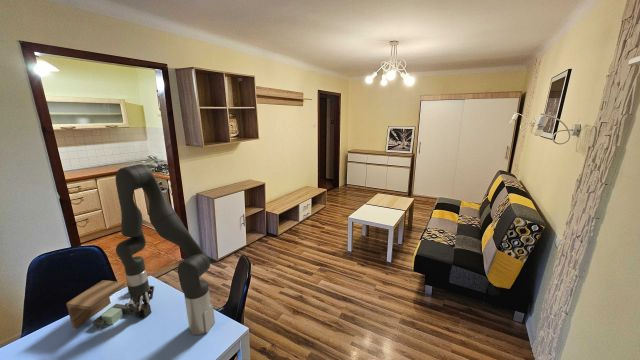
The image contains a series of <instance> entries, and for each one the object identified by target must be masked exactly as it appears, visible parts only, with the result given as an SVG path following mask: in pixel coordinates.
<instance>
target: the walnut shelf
mask: <svg viewBox="0 0 640 360" xmlns="http://www.w3.org/2000/svg"><path fill="white" fill-rule="evenodd" d="M124 287H126V283H125V282H122V281H115V280H114V281H113V280H104V279H103V280H100V282H97V283H96V284H95V285H93V286H91V287H89V288H88V289H86V290H85V291H83V292H81V293H80V294H78V295H77V296H75V297H74V298H72V299H71V300H69V301H68V302H66V303H65V304H66V308H67V312H68V315H69V319H70V322H71V323H70V324H71V326H72V329H73V330H74V329H75V330H76V329H77V328H80V327H81V326H82V325H83V324H85V323H86V322H87V321H88V320H90V319H92V318H93V317H94V316H96V315H97V314H98V313H99V312H101V311H102V310H103V309H105V308H107V306H109V305H111V304H112V303H111V298H110V297H111V296H113V295H114V294H116V293H117V292H118V291H120V290H121V289H122V288H124Z"/></svg>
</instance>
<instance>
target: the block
mask: <svg viewBox="0 0 640 360" xmlns="http://www.w3.org/2000/svg"><path fill="white" fill-rule="evenodd" d="M110 308H111V307H110ZM110 308H108V309H109V310H108V309H107V310H108V311H107V310H106V311H107V312H106V311H105V313H104V312H103V313H104V314H103V313H102V314H103V315H102V314H101V315H100V316H101V317H102V320H104V322H105V325H106V324H107V325H114V324H116V323H117V322H118V321H119V320H120V319H122V318H123V317H124V314H122V309H119V308H111V309H110Z"/></svg>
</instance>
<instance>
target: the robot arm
mask: <svg viewBox="0 0 640 360" xmlns="http://www.w3.org/2000/svg"><path fill="white" fill-rule="evenodd" d="M115 185H116V186H115V187H116V191H117V192H116V193H117V197H118V201H119V206H120V213H121V219H120V220H121V222H120V223H121V227H120V230H121V231H120V232H121V235H122V236H123V237H125V238H126V239H124V240H122V241H120V242H119V243H117V245H116V246H115V247H116V248H115V254H116V255H117V257H118V258H119V260H120V262H121V263H122V264H123V267H124V272H125V280H126V285H127V286H126V287H127V290H128V294H129V295H130V298H129V299H130V300H129V301H128V302H126V303H125V304H124V305H125V306H126V308H127V309H128V310H129V311H130V312H134V313H136V315H135V317H136V318H141V317H142V311H141V305H142V303H143V304H150V303H151V302H150V301H151V300H153V297H154V290H155V286H154V285H149V278H148V272H147V269H146V265H145V260H144V257H142V256H137V255H136V254H138V253H139V252H141V251H142V250H144V249H145V247H146V244H147V241H146V238H145V234H144V232H143V214H142V211H141V209H139V206H137V204H136V203H135V200H134V195H135V190H139V189H140V190H141V189H142V190H143V192H144V193H145V195H146V197H147V199H148V207H149V208H148V211H149V213H148V215H149V216H148V217H149V222H150V224H151V226H152V227H153V228H154V230H155V231H156V233H157V234H158V236H160V238H161V239H164V240H166V241H167V242H170V243H171V244H174V245H176V246H178V247H179V248H180V250H182V251H183V252H184V254H185V255H186V258H185V259H183V260H182V261H181V262H179V264H178V266H177V277H178V280H179V285H180V289H181V291H182V292H183V295H184V301H185V302H184V304H185V310H186V314H187V322H188V323H187V324H188V329H189V333H190V334H191V335H194V336H199V335H200V336H201V335H203V334H208V333H209V331H210V330H211V329H212V327H213V326H214V324H215V323H216V320H215V319H216V318H215V311H214V304H213V303H211V297H210V288H209V282H208V281H207V280H205V279H201V277H202V276H203V275H204V274H205V273H206V272H207V271H208V270H209V269H210V267H211V261H210V259H209V256H208V255H207V254H206V253H205V251H204V250H203V248H201V246H200V245H199V244H198V243H197V241H196V240H195V239H194V237H192V234H191V233H190V232H189V231H188V229H187V227H185V225H184V222H183V221H182V220H181V218H180V216H179V215H178V213H177V212H176V211H175V209H174V208H173V206H172V205H171V203H170V202H169V200H168V198H167V196H165V194H164V192H163V190H162V188H161V186H160V184H159V182H158V179H156V177H155V175H154V172H153V171H152V170H151V168H149V167H148V166H147V165H146V164H142V163H141V164H140V163H139V164H134V165H129V166H125V167H122V168H119V169H118V170H117V171H116V173H115ZM133 255H136V256H133ZM137 306H138V308H137Z"/></svg>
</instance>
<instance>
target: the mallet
mask: <svg viewBox="0 0 640 360" xmlns="http://www.w3.org/2000/svg"><path fill="white" fill-rule="evenodd" d="M111 308H119V309H122V314H123V315H129V316H136V313H134V312H130V311H129V310H128V309H127V308H126V306H125V304H123V303H122V304H121V303H115V304H113V306H111V307H110V308H108V309H107V310H106V311H105V312H107V311H108V310H109V309H111ZM137 308H138V306H137ZM141 311H142V317H141V318H142V319H147V317H149V315H151V314H152V307H151V304H150V303H149V304H144V303H143V302H142V305H141ZM105 312H103V313H102V314H101V315H103V314H104V313H105ZM101 315H99V316H97V318H95V319H94V320H93V321H92V324H93V325H92V326H93V328H96V329H102V330H103V329H104V328H105V327H106V324H105V322H104V320H102V317H101Z"/></svg>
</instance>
